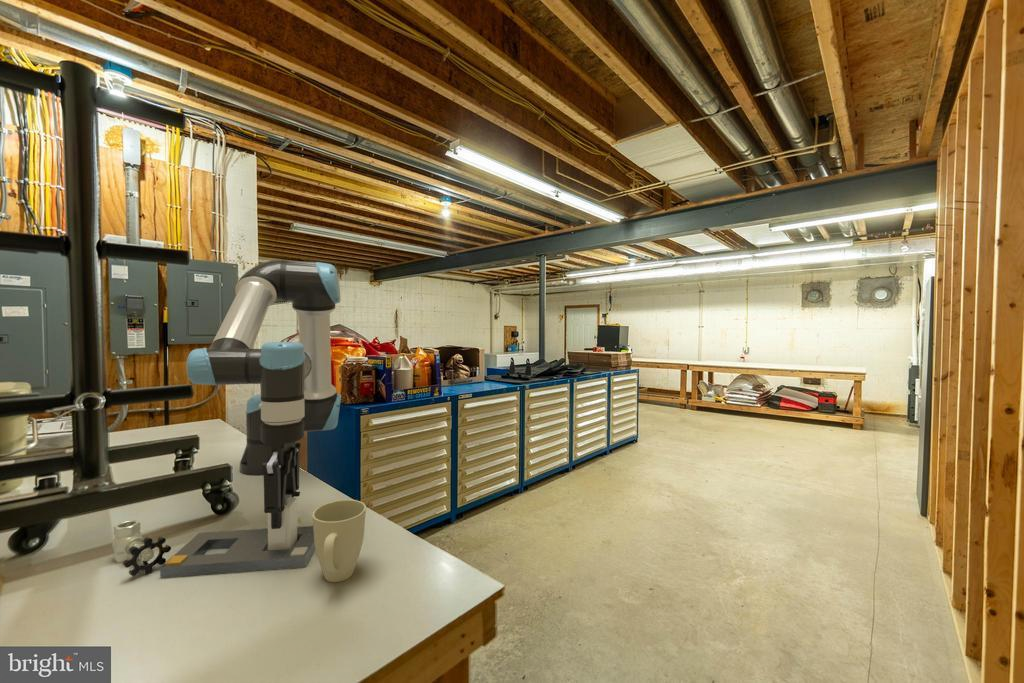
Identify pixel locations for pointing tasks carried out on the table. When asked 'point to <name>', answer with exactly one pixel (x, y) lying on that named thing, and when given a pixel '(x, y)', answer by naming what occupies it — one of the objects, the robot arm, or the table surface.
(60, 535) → the table surface
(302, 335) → the robot arm
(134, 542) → the valve
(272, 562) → the grey slotted tray
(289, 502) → the plug
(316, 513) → the mug
